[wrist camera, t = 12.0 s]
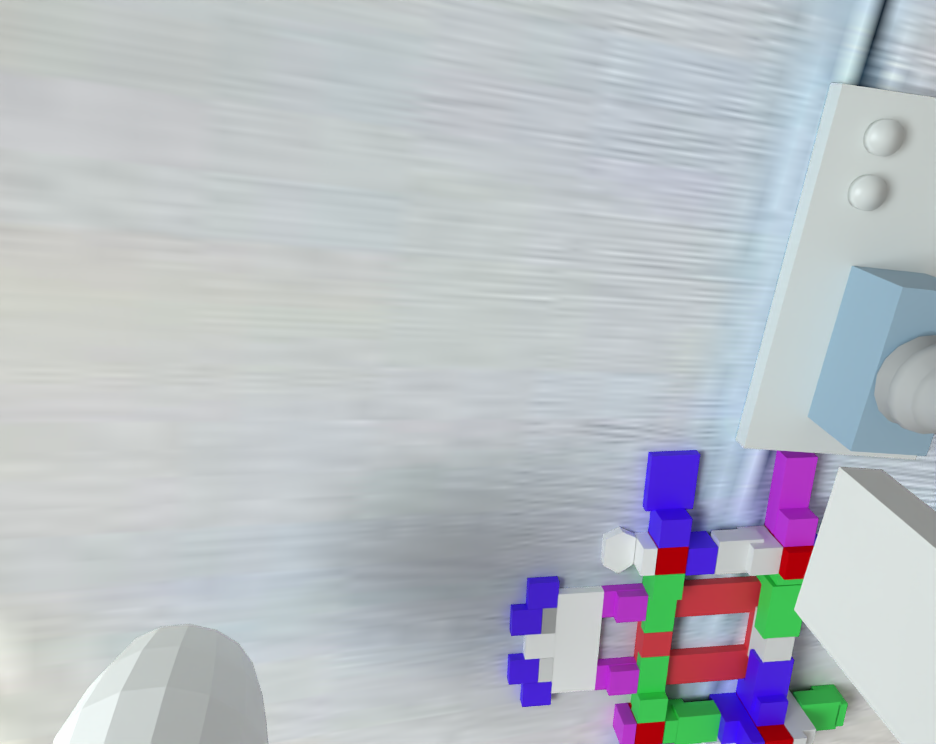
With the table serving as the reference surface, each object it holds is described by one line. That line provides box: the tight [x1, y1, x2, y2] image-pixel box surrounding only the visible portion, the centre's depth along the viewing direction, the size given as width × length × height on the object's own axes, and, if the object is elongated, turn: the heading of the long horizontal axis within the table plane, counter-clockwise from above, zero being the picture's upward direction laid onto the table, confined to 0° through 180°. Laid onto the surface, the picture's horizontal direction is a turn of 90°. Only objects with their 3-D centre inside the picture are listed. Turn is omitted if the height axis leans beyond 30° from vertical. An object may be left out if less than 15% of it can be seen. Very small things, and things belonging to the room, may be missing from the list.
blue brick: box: [808, 266, 936, 456], centre depth 40 cm, size 8×4×4 cm, turn 172°
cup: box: [53, 624, 268, 744], centre depth 32 cm, size 7×7×21 cm
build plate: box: [735, 83, 936, 460], centre depth 41 cm, size 18×10×2 cm, turn 172°
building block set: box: [507, 450, 848, 744], centre depth 47 cm, size 25×21×4 cm
